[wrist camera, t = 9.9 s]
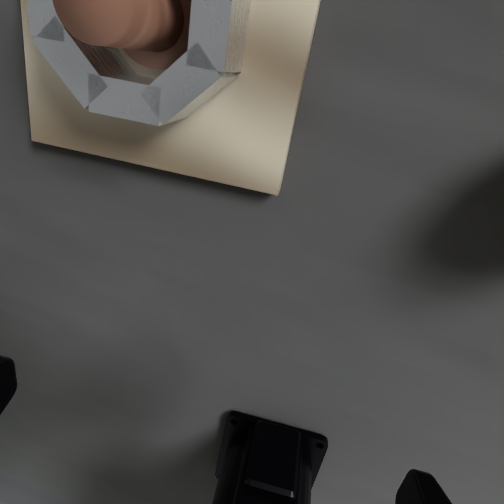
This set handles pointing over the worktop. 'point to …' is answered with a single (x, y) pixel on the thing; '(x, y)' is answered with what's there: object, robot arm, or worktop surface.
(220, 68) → the ring
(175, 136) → the post stand
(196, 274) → the worktop surface
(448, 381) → the worktop surface
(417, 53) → the worktop surface
